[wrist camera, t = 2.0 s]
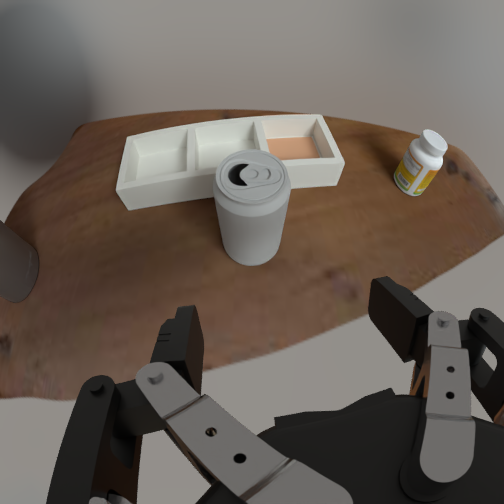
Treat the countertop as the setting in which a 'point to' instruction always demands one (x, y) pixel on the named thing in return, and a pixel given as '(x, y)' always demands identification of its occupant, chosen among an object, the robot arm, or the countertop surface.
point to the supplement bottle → (420, 163)
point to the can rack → (223, 156)
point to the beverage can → (251, 204)
